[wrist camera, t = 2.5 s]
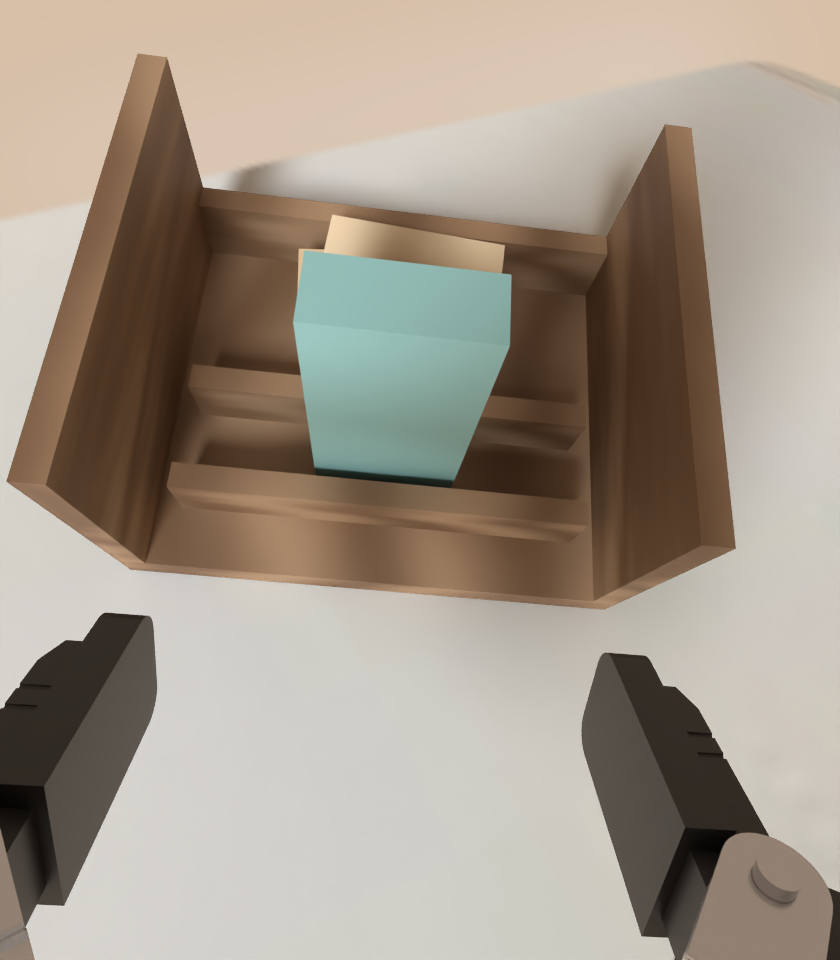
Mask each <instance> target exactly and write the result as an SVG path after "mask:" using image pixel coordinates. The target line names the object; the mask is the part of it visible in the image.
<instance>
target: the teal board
mask: <svg viewBox="0 0 840 960" xmlns="http://www.w3.org/2000/svg"><path fill="white" fill-rule="evenodd" d="M510 320H511V275H510V274H502V273H493V272H485V271H476V270H468V269H459V268H451V267H442V266H434V265H425V264H417V263H408V262H400V261H391V260H382V259H374V258H365V257H357V256H348V255H340V254H331V253H323V252H314V251H306V250H304V256H303V262H302V268H301V275H300V281H299V287H298V294H297V300H296V306H295V313H294V319H293V325H294V332H295V338H296V345H297V352H298V359H299V366H300V372H301V379H302V386H303V393H304V400H305V406H306V413H307V420H308V427H309V433H310V440H311V447H312V454H313V461H314V467H315V474H316V475H317V476H327V477H338V478H348V479H359V480H369V481H380V482H390V483H401V484H411V485H422V486H432V487H443V488H451V487H452V485H453V482H454V480H455V478H456V475H457V473H458V470H459V468H460V465H461V463H462V461H463V458H464V456H465V453H466V451H467V448H468V446H469V444H470V441H471V439H472V436H473V434H474V432H475V429H476V427H477V424H478V422H479V419H480V417H481V415H482V412H483V410H484V407H485V405H486V402H487V400H488V398H489V395H490V393H491V390H492V388H493V386H494V383H495V381H496V378H497V376H498V373H499V371H500V369H501V366H502V364H503V361H504V359H505V356H506V354H507V352H508V349H509V347H510Z"/></svg>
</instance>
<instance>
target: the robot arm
mask: <svg viewBox="0 0 840 960" xmlns="http://www.w3.org/2000/svg"><path fill="white" fill-rule="evenodd" d="M156 694H157V676H156V661H155V645H154V630H153V622H152V619H151V617H149V616H142V615H129V614H116V613H104V614H102V615H101V616H100V617H99V618H98V620H97V621H96V623H95V624H94V626H93V627H92V628H91V630H90V631H89V633H88V634H87V636H86V637H85V639H84V640H83V641H71V640H66V641H64V642H63V643H61V644H60V645H59V646H57V647H56V648H54V649H53V650H51V651H50V652H48V653H47V654H45V655H44V656H43V657H41V658H40V659H38V660H37V662H36V663H35V664H34V666H33V667H32V668H31V670H30V671H29V672H28V674H27V675H26V676H25V678H24V679H23V680H22V681H21V683H20V687H19V688H16V689H15V691H14V692H13V693H12V695H11V696H10V697H9V699H8V700H7V701H6V703H5V707H4V708H1V709H0V960H35V959H34V956H33V952H32V948H31V944H30V940H29V936H28V932H27V929H26V928H25V927H26V925H27V923H28V921H29V919H30V917H31V915H32V913H33V911H34V909H35V907H36V905H37V904H40V905H61V906H64V905H65V903H66V900H67V898H68V896H69V894H70V892H71V890H72V888H73V885H74V883H75V881H76V879H77V877H78V875H79V873H80V870H81V868H82V866H83V864H84V862H85V860H86V858H87V855H88V853H89V851H90V849H91V847H92V845H93V843H94V840H95V838H96V836H97V834H98V832H99V830H100V828H101V825H102V823H103V821H104V819H105V817H106V815H107V813H108V810H109V808H110V806H111V804H112V802H113V800H114V798H115V795H116V793H117V791H118V789H119V787H120V785H121V782H122V780H123V778H124V776H125V774H126V772H127V770H128V767H129V765H130V763H131V761H132V759H133V757H134V755H135V752H136V750H137V748H138V746H139V744H140V742H141V740H142V737H143V735H144V733H145V731H146V729H147V727H148V725H149V722H150V720H151V717H152V714H153V710H154V706H155V701H156ZM582 744H583V750H584V754H585V757H586V761H587V764H588V767H589V770H590V773H591V776H592V780H593V783H594V786H595V789H596V792H597V796H598V799H599V802H600V805H601V808H602V812H603V815H604V818H605V821H606V824H607V827H608V831H609V834H610V837H611V840H612V843H613V847H614V850H615V853H616V856H617V859H618V862H619V866H620V869H621V872H622V875H623V878H624V882H625V885H626V888H627V891H628V894H629V897H630V901H631V904H632V907H633V910H634V913H635V917H636V920H637V923H638V926H639V929H640V932H641V936H646V937H667V938H669V941H670V944H671V947H672V950H673V953H674V955H675V957H674V959H673V960H840V892H837V891H835V890H832V889H830V888H828V887H827V885H826V884H825V882H824V880H823V878H822V877H821V876H820V874H819V873H818V872H817V870H816V869H815V868H814V867H813V866H812V865H811V864H810V863H809V862H808V861H807V860H806V859H805V858H804V857H803V856H802V855H800V854H799V853H798V852H796V851H795V850H794V849H792V848H791V847H789V846H788V845H786V844H784V843H782V842H780V841H778V840H776V839H774V838H771V837H769V835H768V833H767V832H766V830H765V828H764V826H763V824H762V823H761V821H760V819H759V817H758V815H757V814H756V812H755V810H754V808H753V806H752V805H751V803H750V801H749V799H748V797H747V796H746V794H745V792H744V790H743V788H742V787H741V785H740V783H739V781H738V779H737V778H736V776H735V774H734V772H733V770H732V769H731V767H730V765H729V763H728V761H727V760H726V759H724V758H723V752H722V751H721V749H720V747H719V745H718V743H717V742H716V740H715V738H712V733H711V731H710V729H709V727H708V725H707V724H706V722H705V720H704V718H703V716H702V715H701V713H700V711H699V709H698V708H697V707H696V706H695V705H694V704H693V703H692V702H691V701H690V700H689V699H687V698H686V697H685V696H684V695H683V694H682V693H681V692H680V691H679V690H678V689H677V688H676V687H669V686H663V685H662V683H661V681H660V679H659V677H658V675H657V673H656V671H655V669H654V667H653V665H652V663H651V661H650V660H649V659H648V657H646V656H641V655H628V654H615V653H604V654H602V656H601V657H600V659H599V662H598V665H597V669H596V672H595V676H594V679H593V683H592V687H591V690H590V694H589V697H588V701H587V704H586V708H585V711H584V715H583V720H582Z"/></svg>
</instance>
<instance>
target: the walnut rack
mask: <svg viewBox="0 0 840 960" xmlns="http://www.w3.org/2000/svg"><path fill="white" fill-rule="evenodd" d="M332 215H337V216H343V217H348V218H354V219H360V220H365V221H371V222H377V223H382V224H388V225H393V226H399V227H405V228H410V229H416V230H422V231H427V232H433V233H438V234H444V235H450V236H455V237H461V238H467V239H472V240H478V241H483V242H489V243H495V244H500V245H505V250H504V259H503V268H502V274H510V275H511V320H510V347H509V349H508V352H507V354H506V356H505V359H504V361H503V364H502V366H501V369H500V371H499V373H498V376H497V378H496V381H495V383H494V386H493V388H492V390H491V393H490V395H489V398H488V400H487V402H486V405H485V407H484V410H483V412H482V415H481V417H480V419H479V422H478V424H477V427H476V429H475V432H474V434H473V436H472V439H471V441H470V444H469V446H468V448H467V451H466V453H465V456H464V458H463V461H462V463H461V465H460V468H459V470H458V473H457V475H456V478H455V480H454V482H453V485H452V487H451V488H443V487H432V486H422V485H411V484H401V483H390V482H380V481H369V480H359V479H348V478H338V477H327V476H317V475H316V474H315V467H314V461H313V454H312V447H311V440H310V433H309V427H308V420H307V413H306V406H305V400H304V393H303V386H302V379H301V372H300V366H299V360H298V353H297V346H296V338H295V332H294V325H293V319H294V313H295V306H296V300H297V290H298V257H299V249H324V248H325V244H326V239H327V235H328V231H329V226H330V222H331V218H332ZM6 482H8V483H9V484H11V485H12V486H13V487H15V488H16V489H18V490H19V491H21V492H22V493H23V494H25V495H26V496H28V497H29V498H30V499H32V500H33V501H35V502H36V503H38V504H39V505H40V506H42V507H43V508H45V509H46V510H47V511H49V512H50V513H52V514H53V515H54V516H56V517H57V518H59V519H60V520H62V521H63V522H64V523H66V524H67V525H69V526H70V527H71V528H73V529H74V530H76V531H77V532H78V533H80V534H81V535H83V536H84V537H86V538H87V539H88V540H90V541H91V542H93V543H94V544H95V545H97V546H98V547H100V548H101V549H103V550H104V551H105V552H107V553H108V554H110V555H111V556H112V557H114V558H115V559H117V560H118V561H119V562H121V563H122V564H124V565H125V566H127V567H128V568H129V569H131V570H143V571H155V572H167V573H179V574H190V575H202V576H214V577H226V578H238V579H250V580H261V581H273V582H285V583H297V584H309V585H321V586H332V587H344V588H356V589H368V590H380V591H392V592H403V593H415V594H427V595H439V596H451V597H463V598H474V599H486V600H498V601H510V602H522V603H534V604H545V605H557V606H569V607H581V608H593V609H607V608H609V607H611V606H613V605H615V604H617V603H620V602H622V601H624V600H626V599H628V598H630V597H632V596H635V595H637V594H639V593H641V592H643V591H645V590H648V589H650V588H652V587H654V586H656V585H658V584H660V583H663V582H665V581H667V580H669V579H671V578H673V577H676V576H678V575H680V574H682V573H684V572H686V571H688V570H691V569H693V568H695V567H697V566H699V565H701V564H703V563H706V562H708V561H710V560H712V559H714V558H716V557H719V556H721V555H723V554H725V553H727V552H729V551H731V550H734V549H736V547H735V537H734V528H733V518H732V509H731V499H730V490H729V480H728V471H727V461H726V452H725V442H724V433H723V423H722V414H721V404H720V395H719V385H718V376H717V367H716V357H715V348H714V338H713V329H712V319H711V310H710V300H709V291H708V281H707V272H706V262H705V253H704V243H703V234H702V224H701V215H700V205H699V196H698V186H697V177H696V167H695V158H694V148H693V139H692V129H691V128H687V127H680V126H672V125H665V126H664V128H663V130H662V131H661V133H660V135H659V137H658V139H657V141H656V143H655V145H654V147H653V149H652V151H651V153H650V155H649V156H648V158H647V160H646V162H645V164H644V166H643V168H642V170H641V172H640V174H639V176H638V178H637V180H636V182H635V183H634V185H633V187H632V189H631V191H630V193H629V195H628V197H627V199H626V201H625V203H624V205H623V207H622V208H621V210H620V212H619V214H618V216H617V218H616V220H615V222H614V224H613V226H612V228H611V230H610V232H609V234H608V235H607V237H604V236H596V235H587V234H579V233H571V232H563V231H555V230H547V229H538V228H530V227H522V226H514V225H506V224H497V223H489V222H481V221H473V220H465V219H457V218H448V217H440V216H432V215H424V214H416V213H408V212H399V211H391V210H383V209H375V208H367V207H359V206H350V205H342V204H334V203H326V202H318V201H309V200H301V199H293V198H285V197H277V196H269V195H260V194H252V193H244V192H236V191H228V190H220V189H211V188H203V186H202V182H201V178H200V175H199V171H198V168H197V164H196V160H195V157H194V153H193V150H192V146H191V143H190V139H189V135H188V132H187V128H186V124H185V121H184V118H183V114H182V110H181V107H180V103H179V99H178V96H177V92H176V88H175V85H174V81H173V78H172V74H171V70H170V67H169V63H168V60H167V57H159V56H152V55H145V54H138V55H137V58H136V61H135V65H134V68H133V71H132V74H131V77H130V81H129V84H128V87H127V90H126V94H125V97H124V100H123V103H122V107H121V110H120V113H119V116H118V120H117V123H116V126H115V130H114V133H113V136H112V140H111V143H110V146H109V149H108V153H107V156H106V159H105V162H104V166H103V169H102V172H101V175H100V178H99V182H98V185H97V188H96V191H95V195H94V198H93V201H92V204H91V208H90V211H89V214H88V217H87V221H86V224H85V227H84V230H83V234H82V237H81V240H80V243H79V247H78V250H77V253H76V256H75V260H74V263H73V266H72V270H71V273H70V276H69V279H68V283H67V286H66V289H65V292H64V296H63V299H62V302H61V305H60V309H59V312H58V315H57V318H56V322H55V325H54V328H53V331H52V335H51V338H50V341H49V344H48V348H47V351H46V354H45V357H44V361H43V364H42V367H41V371H40V374H39V377H38V380H37V384H36V387H35V390H34V393H33V397H32V400H31V403H30V406H29V410H28V413H27V416H26V419H25V423H24V426H23V429H22V432H21V436H20V439H19V442H18V445H17V449H16V452H15V455H14V458H13V462H12V465H11V468H10V472H9V475H8V478H7V481H6Z"/></svg>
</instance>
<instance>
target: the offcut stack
mask: <svg viewBox="0 0 840 960" xmlns="http://www.w3.org/2000/svg"><path fill="white" fill-rule="evenodd" d="M304 250H306V251H314V252H323V253H331V254H340V255H348V256H357V257H365V258H374V259H382V260H391V261H400V262H408V263H417V264H425V265H434V266H442V267H451V268H459V269H468V270H476V271H485V272H493V273H502V268H503V259H504V250H505V245H500V244H495V243H489V242H483V241H478V240H472V239H467V238H461V237H455V236H450V235H444V234H438V233H433V232H427V231H422V230H416V229H410V228H405V227H399V226H393V225H388V224H382V223H377V222H371V221H365V220H360V219H354V218H348V217H343V216H337V215H332V218H331V222H330V226H329V231H328V235H327V239H326V244H325V248H324V249H299V257H298V287H299V281H300V275H301V268H302V262H303V256H304ZM297 294H298V290H297ZM296 346H297V345H296ZM297 353H298V352H297ZM298 360H299V359H298Z"/></svg>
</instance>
